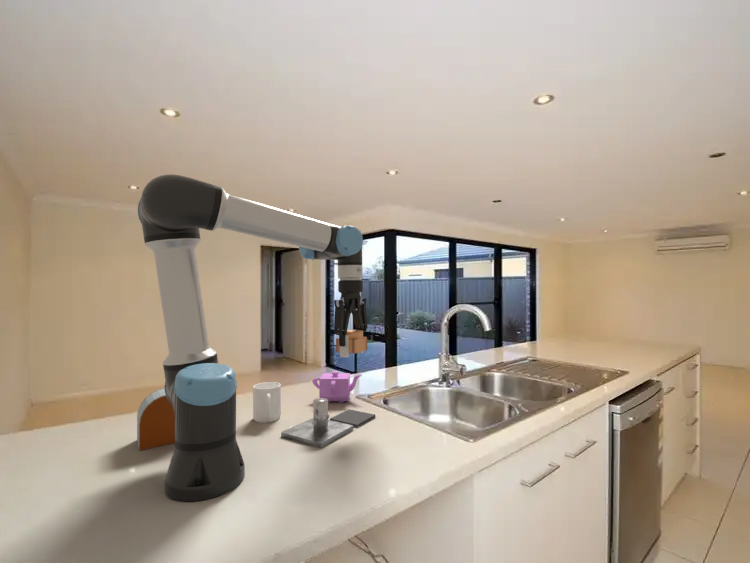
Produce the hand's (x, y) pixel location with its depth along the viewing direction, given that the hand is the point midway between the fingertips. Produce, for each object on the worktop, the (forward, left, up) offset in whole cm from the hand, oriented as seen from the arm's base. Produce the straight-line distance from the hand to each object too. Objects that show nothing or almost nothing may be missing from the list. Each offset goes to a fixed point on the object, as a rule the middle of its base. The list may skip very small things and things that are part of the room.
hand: (351, 354), depth 114 cm
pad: (+1, 0, -20) cm, 20 cm away
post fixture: (-13, +1, -20) cm, 24 cm away
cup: (-13, +22, -20) cm, 33 cm away
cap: (0, 0, +1) cm, 1 cm away
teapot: (+14, +16, -20) cm, 29 cm away
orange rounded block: (-36, +34, -20) cm, 54 cm away
